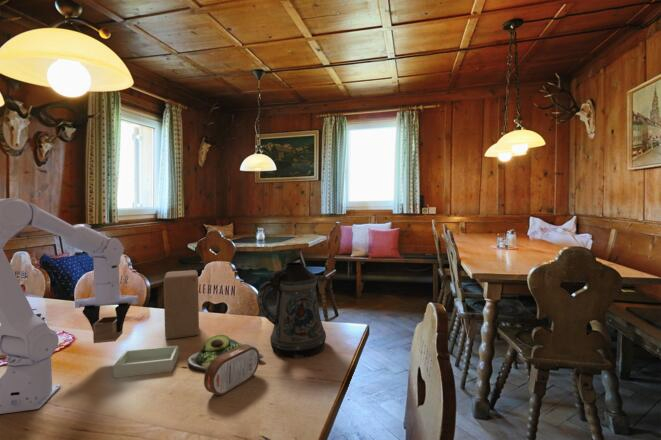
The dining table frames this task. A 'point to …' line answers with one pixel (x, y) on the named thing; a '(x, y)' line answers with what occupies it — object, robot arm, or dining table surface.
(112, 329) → the walnut crate
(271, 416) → the dining table surface
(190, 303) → the wooden block
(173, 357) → the sage crate
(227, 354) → the tin
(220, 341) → the salad plate
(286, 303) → the beer stein
